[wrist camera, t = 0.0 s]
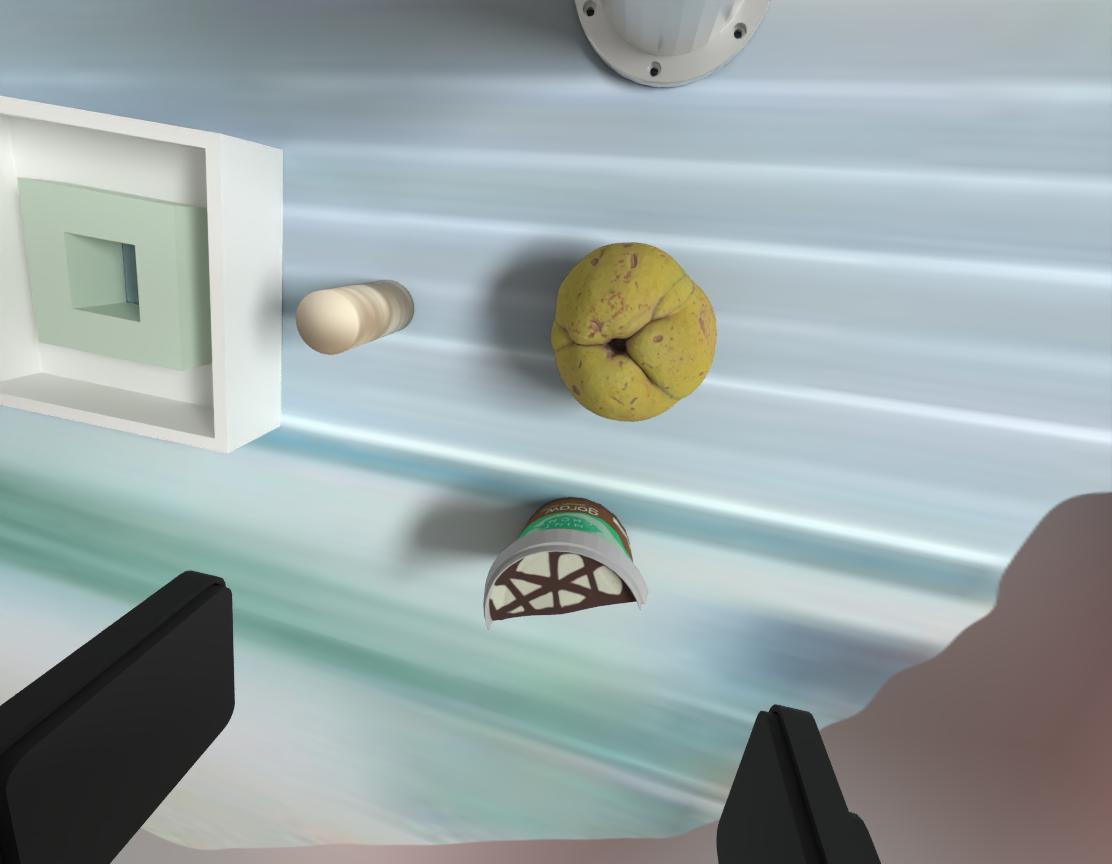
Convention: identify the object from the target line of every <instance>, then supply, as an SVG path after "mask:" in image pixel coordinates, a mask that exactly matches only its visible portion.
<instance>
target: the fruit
mask: <svg viewBox="0 0 1112 864" xmlns="http://www.w3.org/2000/svg"><path fill="white" fill-rule="evenodd" d="M716 336H717V333H716V319H715V315H714V312H713V307H712V305H711V303H710V301H709V299H708V298H707V296H706V295H705V293H704V292H703V290H702V289H701V288H700V287H699V286H697V285H696V284H695V283H694V282H693V281H692V280H691V278H690V277H689V276H687V274H686V273H685V272H684V270H683V269H682V268H681V267H680V265H679V264H678V263H677V262H676V261H675V260H674V259H673V258H672V257H671V256H669V255H668V254H666V253H665V252H664V251H662V250H660V249H658V248H656V247H653V246H650V245H647V244H642V243H635V242H633V243H617V244H611V245H606V246H603V247H600V248H598V249H596V250H594V251H593V252H591V253H590V254H588V255H587V256H585V257H584V258H583V259H582V260H581V261H580V262H579V263H578V264H577V265H576V266H575V267H574V268H573V269H572V270H571V271H570V272H569V274H568V275H567V276H566V278H565V279H564V281H563V282H562V284H561V286H560V288H559V291H558V295H557V301H556V315H555V320H554V323H553V326H552V329H551V344H552V348H553V350H554V354H555V359H556V364H557V368H558V371H559V374H560V376H561V379H562V381H563V382H564V384H565V385H566V387H567V388H568V389H569V391H570V392H571V393H572V395H573V396H574V398H575V399H576V400H577V401H578V402H579V403H580V404H581V405H582V406H584V407H585V408H586V409H587V410H589V411H591V412H593V413H595V414H596V415H599V416H601V417H604V418H607V419H612V420H618V421H631V422H634V421H642V420H646V419H649V418H652V417H654V416H657V415H660V414H661V413H663V412H665V411H666V410H668V409H669V408H670V407H672V406H673V405H674V404H675V403H677V402H678V401H679V400H680V399H682V398H684V397H686V396H688V395H689V394H691V393H692V392H693V391H694V390H695V389H696V388H697V387H698V386H699V385H700V384H701V383H702V381H703V380H704V378H705V377H706V375H707V373H708V371H709V369H710V367H711V364H712V361H713V357H714V353H715V345H716Z"/></svg>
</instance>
